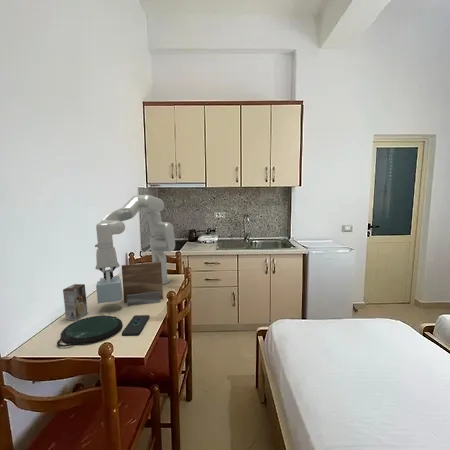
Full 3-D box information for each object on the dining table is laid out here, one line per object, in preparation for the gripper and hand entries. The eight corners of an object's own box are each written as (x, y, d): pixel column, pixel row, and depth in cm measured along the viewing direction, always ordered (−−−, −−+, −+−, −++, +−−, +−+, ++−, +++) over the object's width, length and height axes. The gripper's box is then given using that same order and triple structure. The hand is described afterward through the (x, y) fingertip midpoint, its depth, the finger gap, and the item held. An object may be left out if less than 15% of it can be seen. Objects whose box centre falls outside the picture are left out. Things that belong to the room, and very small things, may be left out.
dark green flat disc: (134, 319, 150) (79, 348, 123) (134, 325, 150) (80, 355, 124) (96, 310, 162) (39, 335, 136) (96, 316, 162) (39, 342, 136)
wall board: (124, 302, 180) (121, 265, 177) (162, 297, 186) (160, 261, 183) (123, 306, 173) (121, 268, 171) (163, 301, 179) (161, 264, 177)
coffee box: (77, 312, 167) (74, 283, 165) (87, 313, 165) (85, 284, 163) (65, 320, 158) (62, 289, 156) (76, 320, 156) (73, 289, 154)
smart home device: (150, 314, 158) (139, 332, 138) (150, 317, 158) (139, 336, 139) (134, 315, 158) (120, 333, 138) (134, 318, 159) (120, 337, 139)
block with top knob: (100, 295, 176) (97, 267, 173) (122, 292, 179) (120, 265, 177) (97, 303, 164) (94, 274, 161) (121, 300, 167) (119, 271, 165)
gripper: (88, 248, 160) (92, 283, 162) (120, 245, 164) (123, 279, 167) (90, 245, 167) (93, 278, 170) (121, 243, 171) (124, 275, 174)
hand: (108, 278), depth 168 cm, fingers closed on block with top knob
